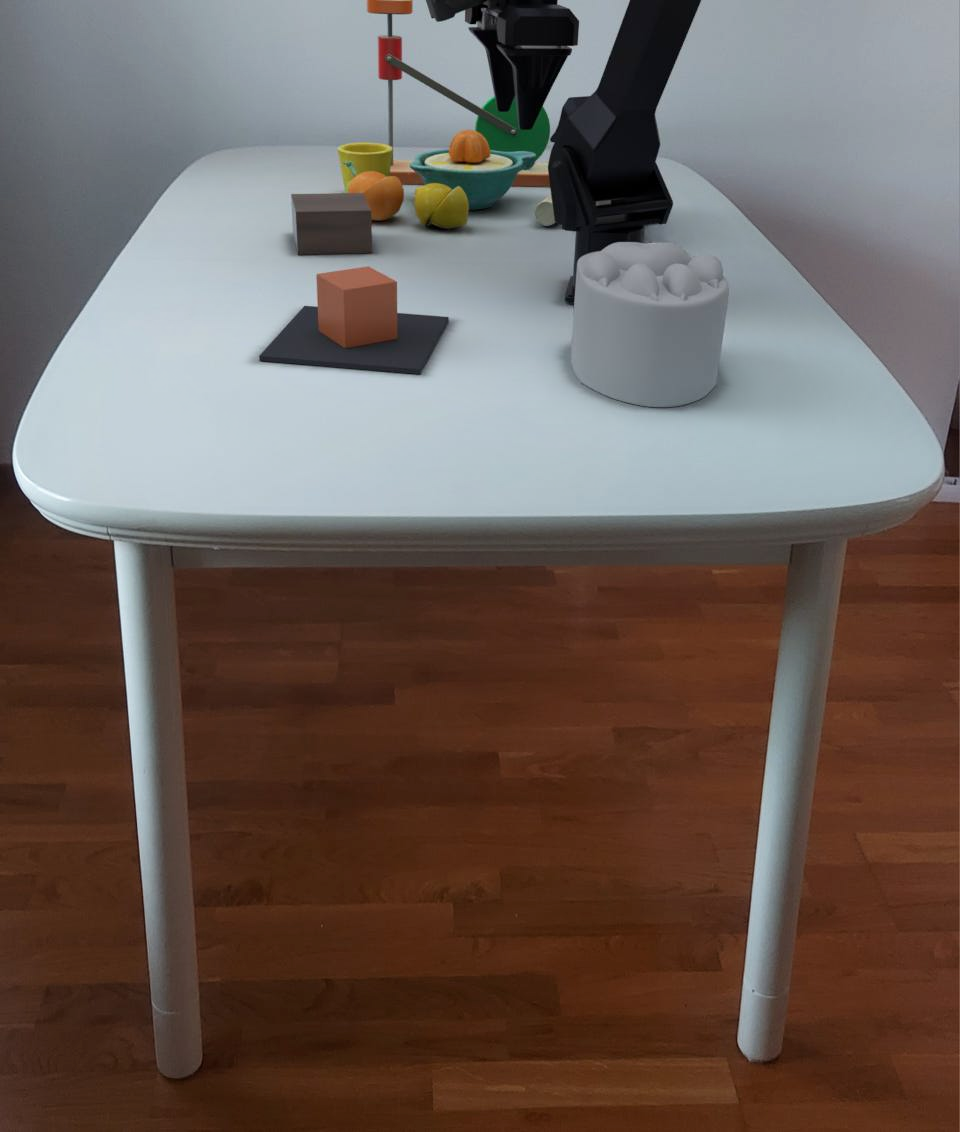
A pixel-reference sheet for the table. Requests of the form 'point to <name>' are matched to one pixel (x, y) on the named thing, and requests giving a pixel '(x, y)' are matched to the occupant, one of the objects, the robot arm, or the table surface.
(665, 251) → the lumpy-topped squat cylinder
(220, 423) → the table surface
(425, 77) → the crank mechanism
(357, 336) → the top block
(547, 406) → the table surface
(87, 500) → the table surface
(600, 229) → the robot arm
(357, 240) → the base block
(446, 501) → the table surface
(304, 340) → the mat
